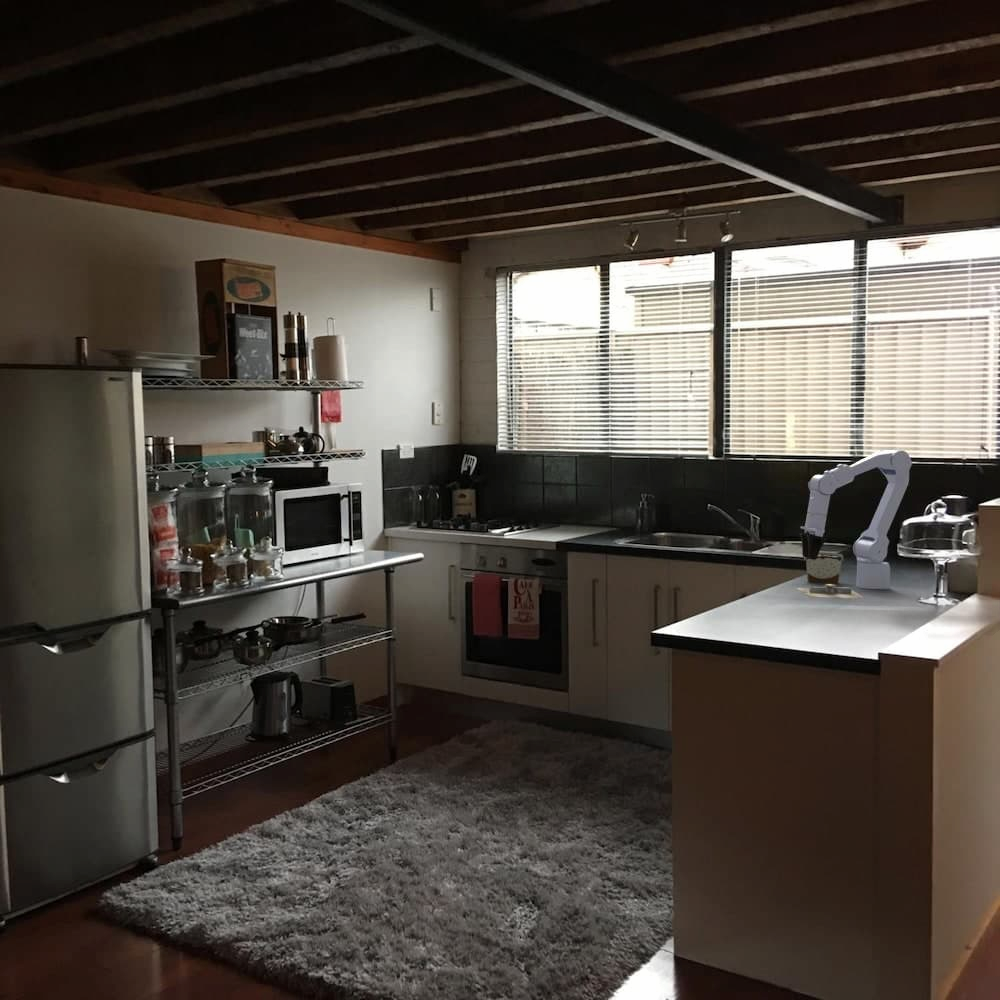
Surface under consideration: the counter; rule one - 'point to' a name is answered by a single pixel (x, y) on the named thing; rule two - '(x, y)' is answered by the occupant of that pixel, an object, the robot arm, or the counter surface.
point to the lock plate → (838, 595)
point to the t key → (830, 590)
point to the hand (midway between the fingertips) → (809, 558)
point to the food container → (824, 568)
